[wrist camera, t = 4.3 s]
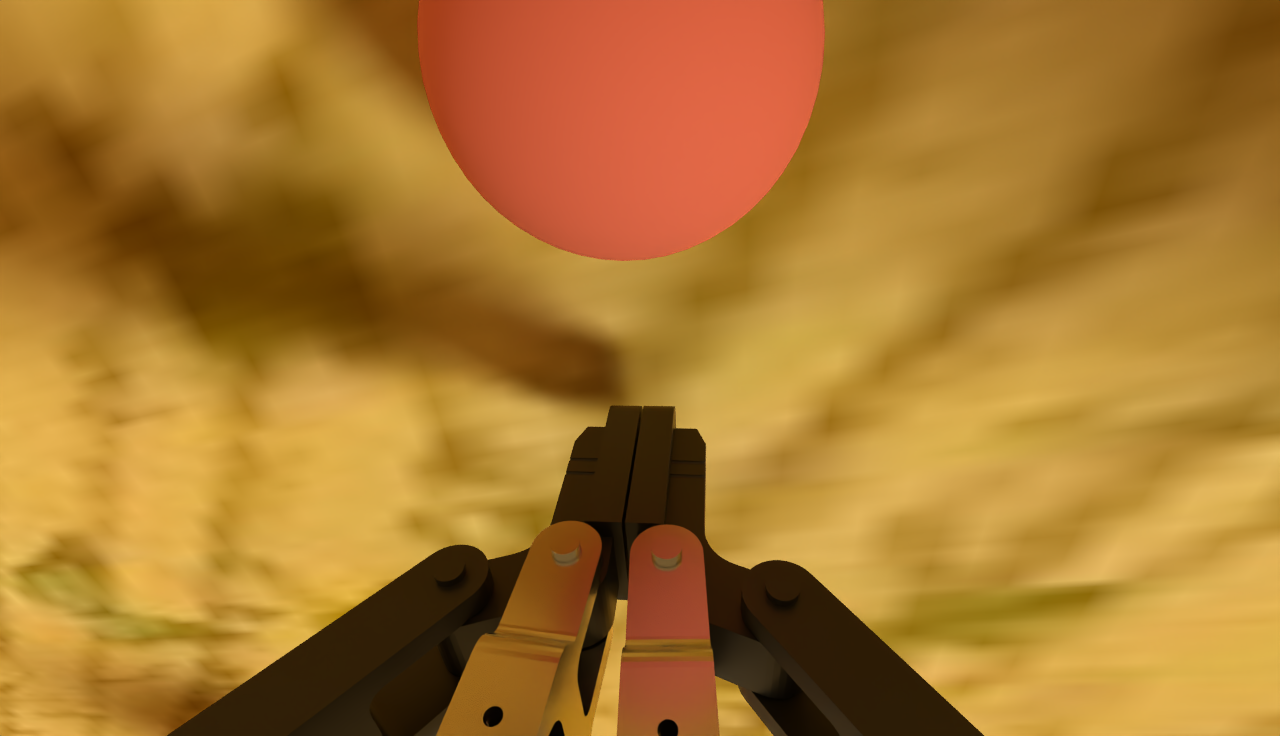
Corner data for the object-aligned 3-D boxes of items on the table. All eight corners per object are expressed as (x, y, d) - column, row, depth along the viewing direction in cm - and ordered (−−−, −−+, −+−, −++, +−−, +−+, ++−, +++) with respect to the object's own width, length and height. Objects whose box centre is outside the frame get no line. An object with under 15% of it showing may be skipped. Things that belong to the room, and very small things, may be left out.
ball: (783, 194, 12) (823, 333, 8) (516, 194, 13) (405, 325, 8) (818, -170, 9) (921, -299, 5) (465, -147, 10) (242, -242, 5)
